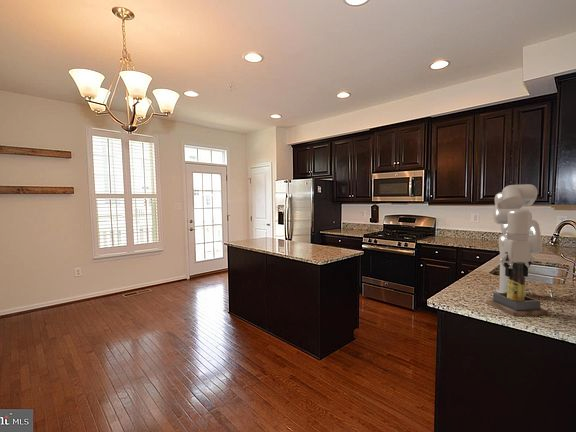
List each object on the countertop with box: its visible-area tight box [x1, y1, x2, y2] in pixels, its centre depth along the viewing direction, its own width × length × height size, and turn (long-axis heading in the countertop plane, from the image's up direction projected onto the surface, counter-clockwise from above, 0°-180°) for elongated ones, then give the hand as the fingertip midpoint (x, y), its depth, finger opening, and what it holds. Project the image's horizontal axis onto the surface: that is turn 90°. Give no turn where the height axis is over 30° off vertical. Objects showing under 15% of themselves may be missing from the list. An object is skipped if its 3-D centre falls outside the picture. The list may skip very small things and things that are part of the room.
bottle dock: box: [486, 292, 549, 317], centre depth 130 cm, size 16×15×6 cm
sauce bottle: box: [507, 263, 526, 301], centre depth 130 cm, size 6×6×20 cm
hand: (516, 276), depth 129 cm, fingers open, 6 cm apart
